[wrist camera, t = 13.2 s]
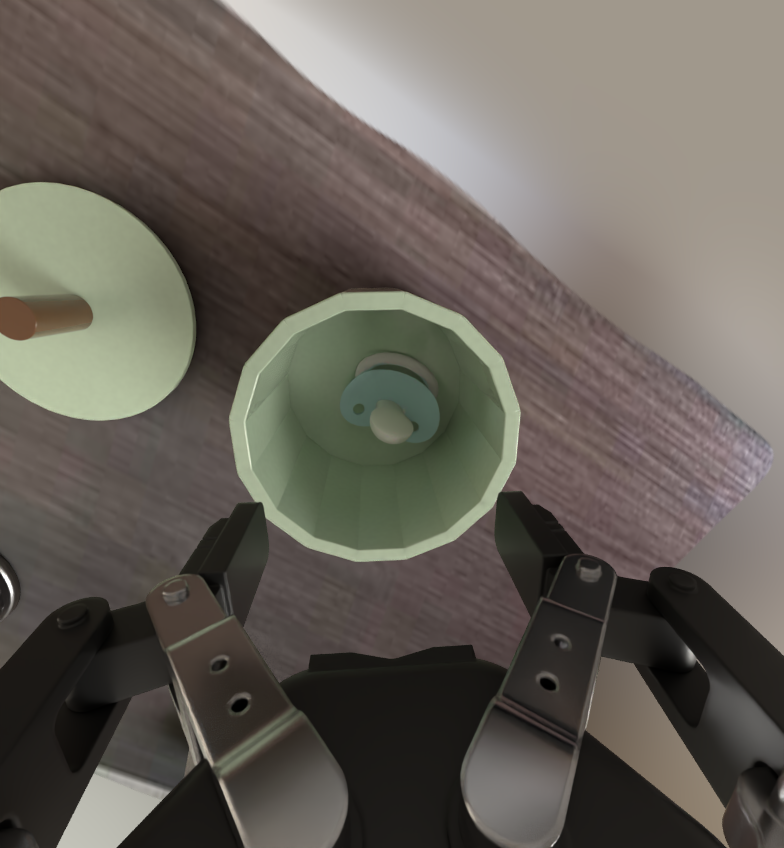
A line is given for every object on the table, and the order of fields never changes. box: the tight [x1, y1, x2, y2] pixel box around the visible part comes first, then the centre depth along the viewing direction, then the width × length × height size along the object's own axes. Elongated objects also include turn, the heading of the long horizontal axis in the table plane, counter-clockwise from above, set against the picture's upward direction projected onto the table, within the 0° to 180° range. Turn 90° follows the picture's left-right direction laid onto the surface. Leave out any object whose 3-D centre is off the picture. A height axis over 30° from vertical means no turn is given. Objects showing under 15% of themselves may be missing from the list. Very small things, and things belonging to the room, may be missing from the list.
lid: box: [0, 182, 196, 420], centre depth 25 cm, size 15×15×6 cm
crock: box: [229, 287, 521, 562], centre depth 26 cm, size 14×14×12 cm
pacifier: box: [340, 352, 440, 444], centre depth 28 cm, size 7×6×6 cm
